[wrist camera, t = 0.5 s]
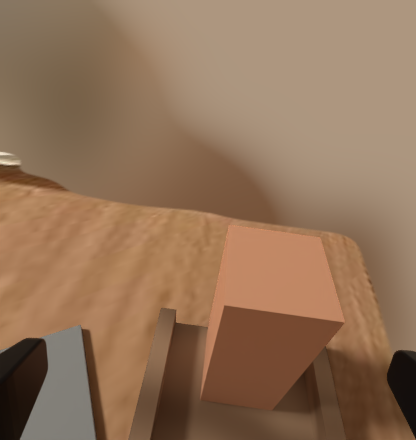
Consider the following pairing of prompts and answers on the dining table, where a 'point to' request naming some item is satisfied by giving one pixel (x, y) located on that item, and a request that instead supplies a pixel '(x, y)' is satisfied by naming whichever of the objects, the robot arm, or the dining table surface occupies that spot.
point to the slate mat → (63, 392)
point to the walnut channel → (218, 412)
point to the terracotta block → (267, 316)
